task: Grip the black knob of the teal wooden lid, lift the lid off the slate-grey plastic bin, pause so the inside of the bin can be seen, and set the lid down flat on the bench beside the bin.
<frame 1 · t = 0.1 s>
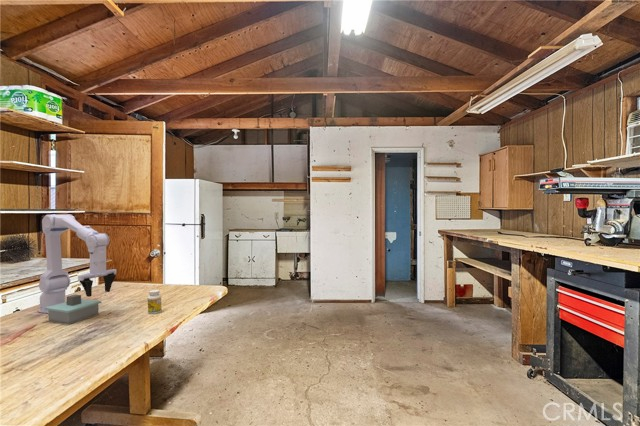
hand: (98, 293, 133), 10 cm above the workbench, tool pointing down, fingers open, 7 cm apart
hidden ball: (74, 312, 132), point 2 cm above the workbench, touching grey bin
teal lid: (74, 306, 132), point 5 cm above the workbench, touching grey bin
grey bin: (74, 317, 132), on the workbench
supplement bottle: (154, 312, 139), on the workbench
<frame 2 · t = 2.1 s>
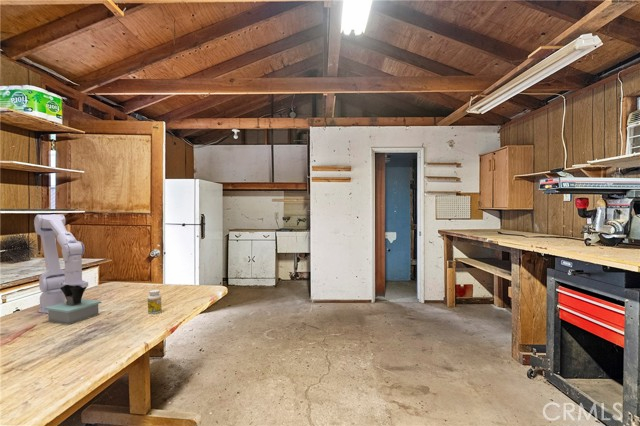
hand: (73, 302, 132), 6 cm above the workbench, tool pointing down, fingers closed on teal lid, 3 cm apart
teal lid: (74, 306, 132), point 5 cm above the workbench, touching grey bin, gripper
everything else where it was.
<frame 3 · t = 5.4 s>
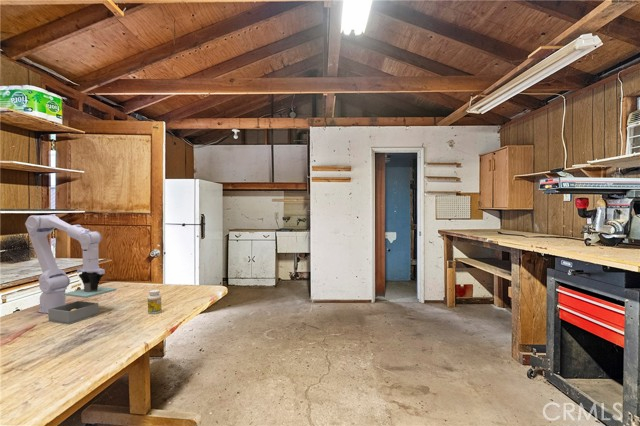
hand: (91, 289, 139), 10 cm above the workbench, tool pointing down, fingers closed on teal lid, 3 cm apart
teal lid: (90, 292, 139), point 9 cm above the workbench, touching gripper
everything else where it was.
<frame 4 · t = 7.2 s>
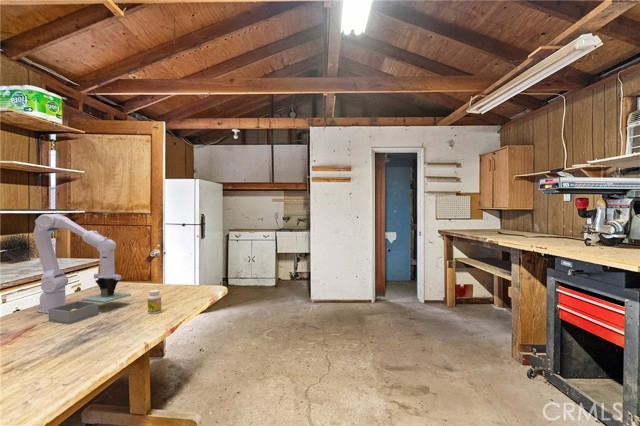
hand: (107, 294, 147), 6 cm above the workbench, tool pointing down, fingers closed on teal lid, 3 cm apart
teal lid: (107, 297, 146), point 4 cm above the workbench, touching gripper
everything else where it was.
when the fingers open (3 cm above the workbench, at t = 8.7 s): teal lid drops 2 cm, on the workbench.
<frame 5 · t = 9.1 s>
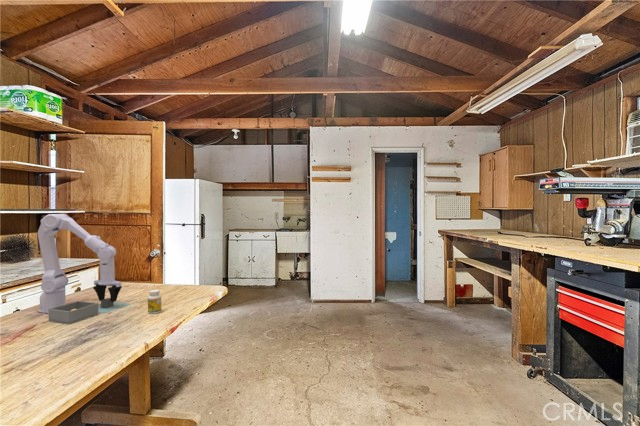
hand: (107, 300, 147), 3 cm above the workbench, tool pointing down, fingers open, 7 cm apart
teal lid: (107, 308, 147), on the workbench
everything else where it was.
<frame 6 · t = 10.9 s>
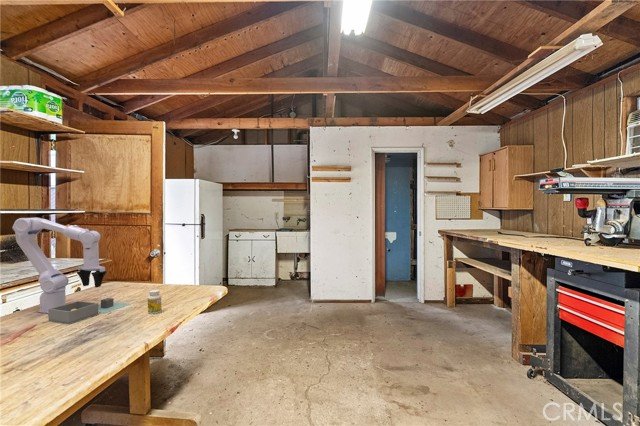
hand: (92, 286, 144), 10 cm above the workbench, tool pointing down, fingers open, 7 cm apart
nothing on the workbench moved.
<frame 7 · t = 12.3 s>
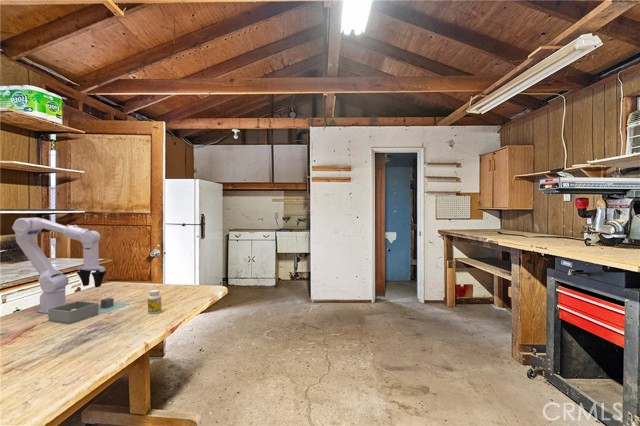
hand: (92, 286, 144), 10 cm above the workbench, tool pointing down, fingers open, 7 cm apart
nothing on the workbench moved.
at the end: teal lid inside the target area (0.8 cm from its centre), on the workbench; teal lid touching workbench; the gripper is holding nothing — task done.
